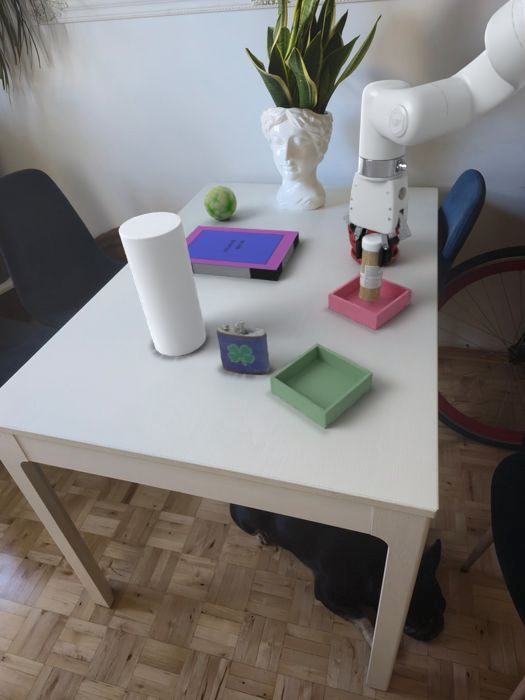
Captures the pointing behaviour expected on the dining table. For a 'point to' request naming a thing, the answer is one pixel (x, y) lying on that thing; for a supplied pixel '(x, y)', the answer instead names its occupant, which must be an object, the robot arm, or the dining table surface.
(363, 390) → the green bin
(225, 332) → the flask
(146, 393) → the dining table surface
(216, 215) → the decorative ball
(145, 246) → the tall pillar cylinder
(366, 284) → the sprinkles bottle
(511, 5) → the robot arm
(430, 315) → the dining table surface
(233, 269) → the book
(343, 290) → the pink bin
